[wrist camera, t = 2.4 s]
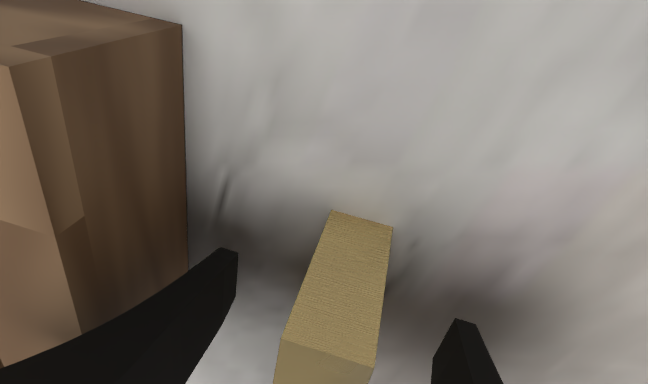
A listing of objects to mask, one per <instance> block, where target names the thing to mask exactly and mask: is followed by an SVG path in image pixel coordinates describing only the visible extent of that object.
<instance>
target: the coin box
mask: <svg viewBox="0 0 648 384" xmlns="http://www.w3.org/2000/svg"><path fill="white" fill-rule="evenodd" d="M186 272H188V241H187V206H186V171H185V136H184V100H183V65H182V30H181V25H180V24H176V23H171V22H167V21H163V20H159V19H155V18H151V17H146V16H142V15H138V14H134V13H130V12H126V11H121V10H117V9H113V8H109V7H105V6H101V5H96V4H92V3H88V2H84V1H80V0H0V368H3V367H6V366H8V365H11V364H14V363H16V362H19V361H21V360H24V359H26V358H29V357H31V356H34V355H36V354H39V353H41V352H43V351H46V350H48V349H51V348H53V347H56V346H58V345H60V344H62V343H65V342H67V341H69V340H71V339H73V338H76V337H78V336H80V335H82V334H84V333H86V332H88V331H90V330H92V329H94V328H96V327H98V326H100V325H102V324H104V323H106V322H108V321H110V320H111V319H113V318H115V317H117V316H119V315H121V314H122V313H124V312H126V311H128V310H129V309H131V308H133V307H135V306H136V305H138V304H139V303H141V302H143V301H144V300H146V299H147V298H149V297H151V296H152V295H154V294H155V293H157V292H159V291H160V290H162V289H163V288H165V287H166V286H168V285H169V284H171V283H172V282H173V281H175V280H176V279H178V278H179V277H181V276H182V275H184V274H185V273H186Z"/></svg>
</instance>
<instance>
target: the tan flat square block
mask: <svg viewBox="0 0 648 384" xmlns="http://www.w3.org/2000/svg"><path fill="white" fill-rule="evenodd" d="M392 230H393V227H390V226H387V225H383V224H380V223H376V222H373V221H369V220H366V219H362V218H358V217H355V216H351V215H348V214H344V213H341V212H337V211H334V210H331V212H330V215H329V217H328V220H327V222H326V225H325V227H324V230H323V232H322V235H321V237H320V240H319V243H318V245H317V248H316V250H315V253H314V255H313V258H312V260H311V263H310V265H309V268H308V271H307V273H306V276H305V278H304V281H303V283H302V286H301V288H300V291H299V293H298V296H297V299H296V301H295V304H294V306H293V309H292V311H291V314H290V316H289V319H288V321H287V324H286V327H285V329H284V332H283V334H282V337H281V341H280V346H279V352H278V357H277V363H276V369H275V374H274V380H273V384H368V382H369V379H370V377H371V375H372V372H373V370H374V366H375V359H376V351H377V343H378V336H379V328H380V321H381V313H382V306H383V298H384V290H385V283H386V275H387V268H388V260H389V253H390V245H391V238H392Z"/></svg>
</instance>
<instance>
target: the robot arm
mask: <svg viewBox="0 0 648 384" xmlns="http://www.w3.org/2000/svg"><path fill="white" fill-rule="evenodd" d="M237 268H238V252H234V251H231V250H228V249H224V248H219V249H217V250H216V251H215V252H213V253H212V254H211V255H209V256H208V257H207V258H205V259H204V260H203V261H201V262H200V263H199V264H197V265H196V266H195V267H193V268H192V269H191V270H189V271H188V272H186V273H185V274H184V275H182V276H181V277H179V278H178V279H176V280H175V281H173V282H172V283H171V284H169V285H168V286H166V287H165V288H163V289H162V290H160V291H159V292H157V293H155V294H154V295H152V296H151V297H149V298H147V299H146V300H144V301H143V302H141V303H139V304H138V305H136V306H135V307H133V308H131V309H129V310H128V311H126V312H124V313H122V314H121V315H119V316H117V317H115V318H113V319H111V320H110V321H108V322H106V323H104V324H102V325H100V326H98V327H96V328H94V329H92V330H90V331H88V332H86V333H84V334H82V335H80V336H78V337H76V338H73V339H71V340H69V341H67V342H65V343H62V344H60V345H58V346H56V347H53V348H51V349H48V350H46V351H43V352H41V353H39V354H36V355H34V356H31V357H29V358H26V359H24V360H21V361H19V362H16V363H14V364H11V365H8V366H6V367H3V368H0V384H185V383H186V381H187V380H188V378H189V377H190V375H191V374H192V372H193V370H194V369H195V367H196V366H197V364H198V362H199V361H200V359H201V358H202V356H203V354H204V353H205V351H206V350H207V348H208V346H209V345H210V343H211V342H212V340H213V338H214V337H215V335H216V334H217V332H218V330H219V329H220V327H221V325H222V324H223V322H224V320H225V317H226V315H227V313H228V311H229V309H230V307H231V305H232V303H233V301H234V298H235V296H236V282H237ZM431 384H503V382H502V380H501V378H500V376H499V374H498V372H497V369H496V367H495V365H494V363H493V361H492V359H491V357H490V355H489V352H488V350H487V348H486V346H485V344H484V341H483V339H482V337H481V335H480V332H479V330H478V328H477V326H476V324H473V323H470V322H467V321H463V320H460V319H457V318H455V319H454V321H453V323H452V325H451V326H450V328H449V330H448V332H447V334H446V335H445V337H444V339H443V341H442V343H441V345H440V346H439V348H438V350H437V352H436V354H435V355H434V357H433V364H432V376H431Z"/></svg>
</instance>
